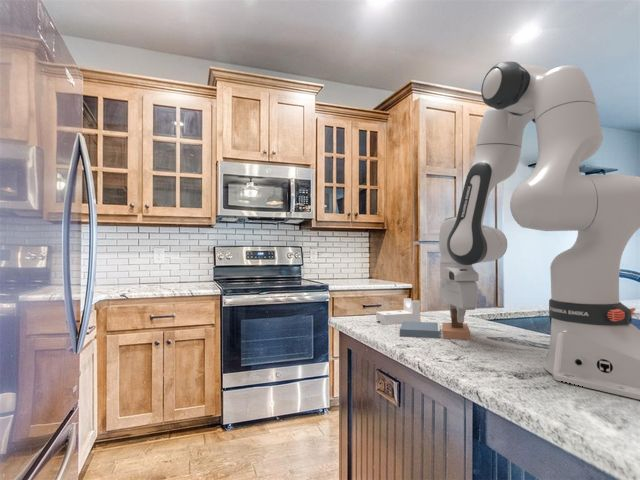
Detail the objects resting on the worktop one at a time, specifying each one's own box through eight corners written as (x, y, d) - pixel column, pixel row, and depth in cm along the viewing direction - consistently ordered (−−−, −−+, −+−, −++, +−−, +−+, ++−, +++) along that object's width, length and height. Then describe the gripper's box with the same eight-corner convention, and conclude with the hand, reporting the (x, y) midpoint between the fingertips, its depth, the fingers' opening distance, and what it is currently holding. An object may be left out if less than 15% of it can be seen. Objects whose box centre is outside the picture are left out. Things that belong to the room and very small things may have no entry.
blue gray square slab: (399, 336, 108) (399, 328, 108) (403, 327, 120) (403, 321, 120) (440, 338, 105) (440, 330, 105) (439, 329, 117) (439, 322, 117)
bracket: (410, 319, 134) (410, 298, 135) (420, 323, 127) (419, 300, 128) (376, 322, 131) (375, 300, 132) (384, 325, 124) (383, 302, 125)
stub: (443, 338, 105) (442, 312, 105) (442, 329, 116) (441, 306, 117) (470, 339, 103) (469, 313, 103) (466, 330, 114) (466, 306, 114)
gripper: (434, 270, 120) (435, 314, 120) (457, 275, 100) (458, 328, 99) (454, 270, 120) (455, 314, 120) (481, 275, 100) (483, 327, 99)
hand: (457, 320), depth 110 cm, fingers closed on stub, 3 cm apart
